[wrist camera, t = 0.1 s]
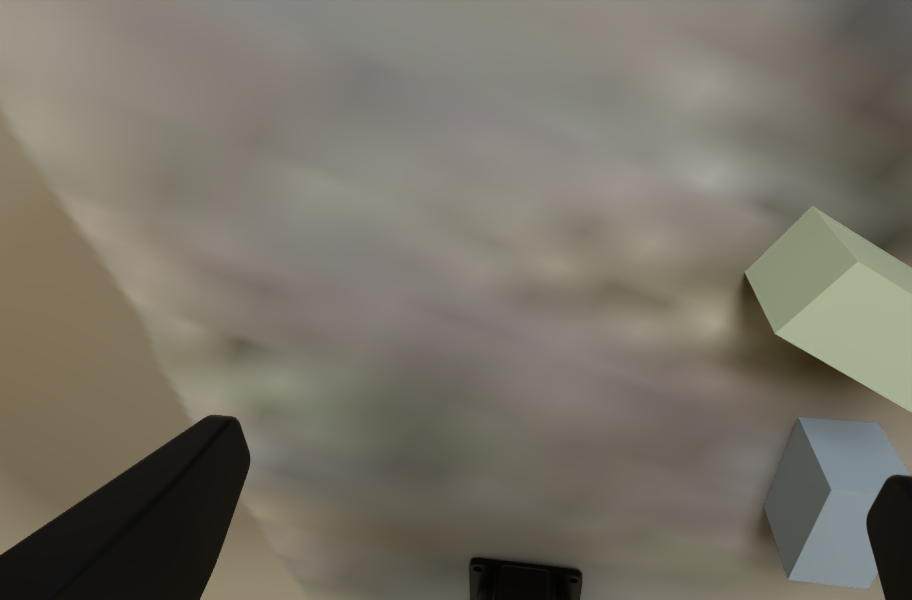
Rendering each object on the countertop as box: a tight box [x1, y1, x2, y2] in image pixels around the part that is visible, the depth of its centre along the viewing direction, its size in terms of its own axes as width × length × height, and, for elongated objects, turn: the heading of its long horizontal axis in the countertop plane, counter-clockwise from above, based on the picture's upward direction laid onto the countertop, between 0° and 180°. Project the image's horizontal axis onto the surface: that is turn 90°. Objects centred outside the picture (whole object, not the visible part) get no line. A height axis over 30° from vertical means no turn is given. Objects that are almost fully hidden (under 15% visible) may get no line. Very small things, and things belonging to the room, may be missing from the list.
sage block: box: [745, 206, 912, 412], centre depth 20 cm, size 6×3×4 cm, turn 62°
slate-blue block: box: [763, 417, 910, 589], centre depth 25 cm, size 6×3×4 cm, turn 2°
